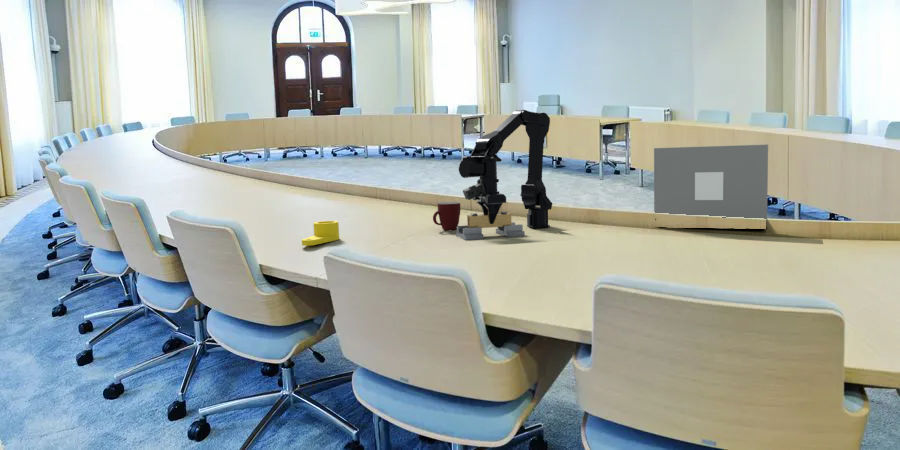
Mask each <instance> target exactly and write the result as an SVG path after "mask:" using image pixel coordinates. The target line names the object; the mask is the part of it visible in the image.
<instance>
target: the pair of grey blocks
mask: <svg viewBox="0 0 900 450" xmlns="http://www.w3.org/2000/svg"><path fill="white" fill-rule="evenodd" d="M511 222H512V225H505V226H504V227H496V228H495V234H498V235H500V236H503V237H505V238H517V237H525V236H526V235H525V230H523V228H524V227H523V225H524V224H516V222H515V221H511ZM482 229H483V228H482V227H475V228H468V224H467V225H465V224H464V225H458V226H457V229H456V231H455V236H456V237H458V238H460V239H462V240H464V241H472V240H484V234H483V233H482V232H483V230H482Z"/></svg>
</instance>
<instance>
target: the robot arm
mask: <svg viewBox="0 0 900 450" xmlns="http://www.w3.org/2000/svg"><path fill="white" fill-rule="evenodd" d="M550 125H551V118H550V116H549V114H547V113H546V112H533V111H529V110H526V109H516V110H514V111H512V113H511V115H510V116H508V117H507V118H506V119H505V120H504V121H503V122H502V123H501V124H499V126H498V127H497V128H495V129H494V130H493V131H492V132H489V133H487V134H484V135H483V136H481V137H479V138H478V139H477V140H476V141H475V145H474V146H473V149H472V152H471V153H470V155H469V156H467V155H466V156H462V160H461V162H460V163H459V166H458V172H459V173H458V174H459V175H460V176H461V177H462V178H464V179H467V178H478V177H479V178H478V179H477V181H476V184H473V185H472V186H469V187H467V188H463V189H462V193H463V196H464V198H465V200H468V201H469V200H473V201H476V202H475V203H476V204H478V205H479V206H480V207H481V210H482V212H483V213H482V214H488V216H489V221H490V224H494V221H495V219H496V216H497V214H499V211H500V209H501V207H502V205H503V204H507V195H505V194H504V193H500V191H498V183H499V182H500V179H499V178H498V174H497V173H498V171H497V170H498V169H497V162H498V163H499V162H502V159H501V157H500V156H498V153H499V152H500V150H501V149H502V148H503V145H504V141H506V139H508V138H509V137H510V136H511V135H512V134H513V133H514V132H515V131H516V130H517V129H519V127H520V126H524V127H525V133H526V134H527V137H528V140H529V142H528V163H527V165H528V166H527V178H526V179H527V180H526V181H525V183H524V184H521V186H520V197H521V202H522V204H523V207H524V209H525V210H528V213H526V223H527V224H526V226H527V227H530V228H532V229H534V228H535V229H536V228H537V229H538V228H550V227H551V225H550V224H549V211H550V210H552V207H553V201H551V200H550V199H549V197H548V196H547V188H546V186H545V184H544V182H543V163H544V144H545V143H544V141H545V138H546V136H547V134H548V132H549V130H550Z"/></svg>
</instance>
